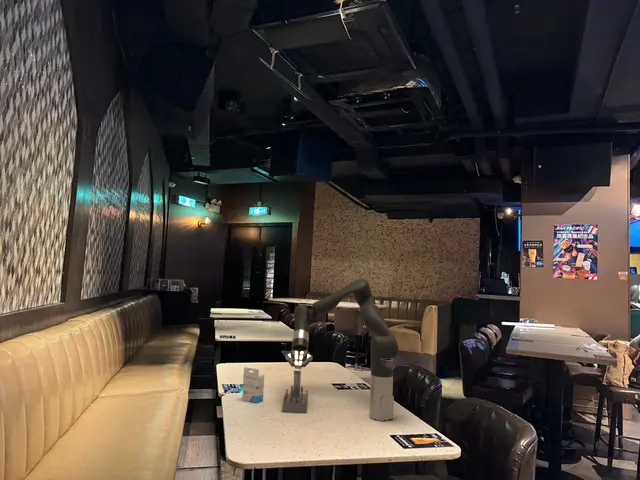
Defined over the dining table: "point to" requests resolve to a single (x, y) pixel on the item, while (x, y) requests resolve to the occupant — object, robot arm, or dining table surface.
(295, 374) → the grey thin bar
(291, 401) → the heat sink
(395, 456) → the dining table surface
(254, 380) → the ink box
